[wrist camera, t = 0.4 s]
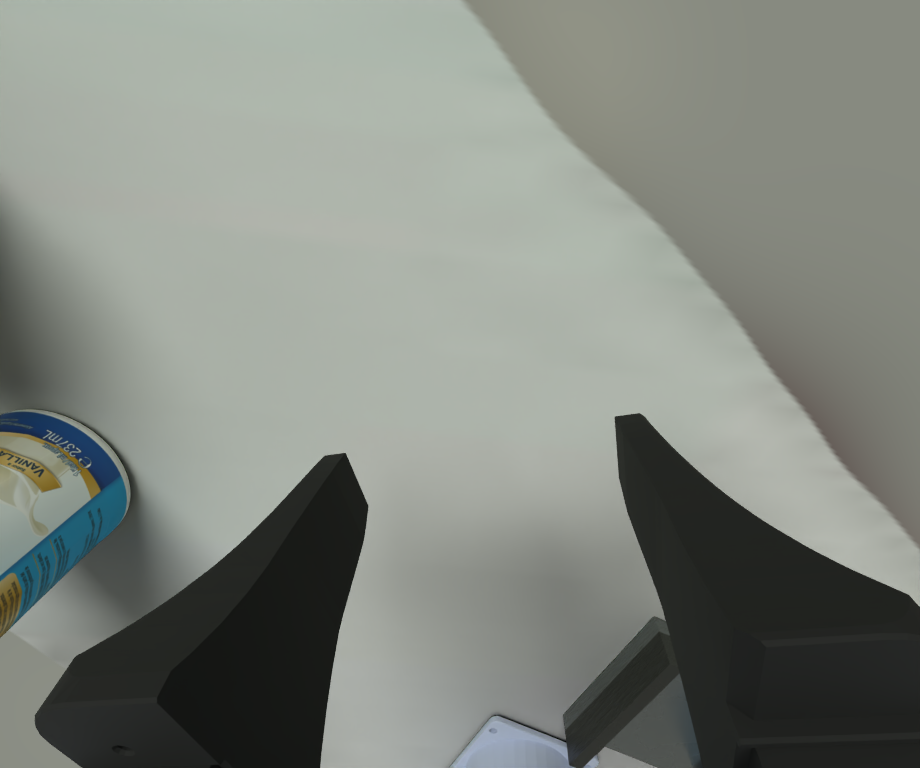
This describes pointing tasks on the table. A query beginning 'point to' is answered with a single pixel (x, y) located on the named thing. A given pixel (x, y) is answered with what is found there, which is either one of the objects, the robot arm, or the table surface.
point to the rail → (636, 707)
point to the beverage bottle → (51, 503)
